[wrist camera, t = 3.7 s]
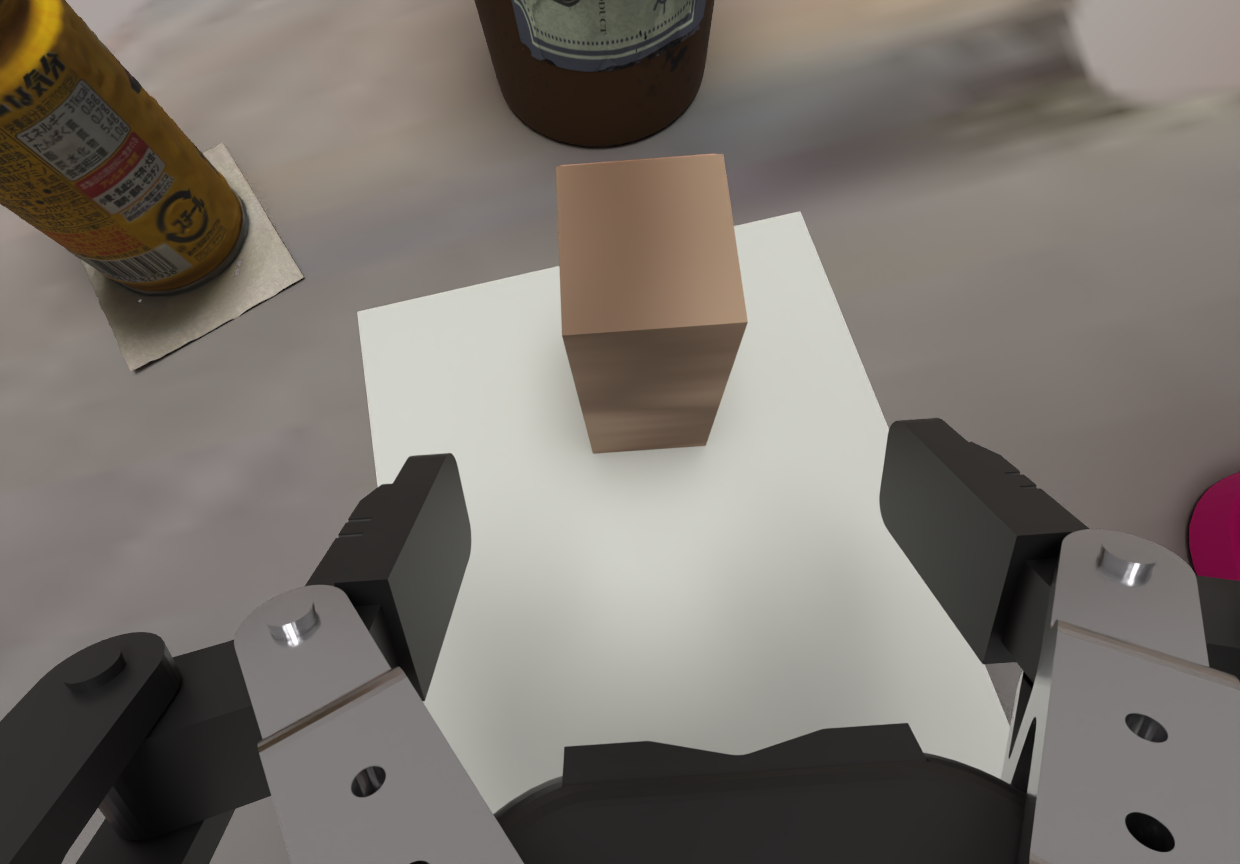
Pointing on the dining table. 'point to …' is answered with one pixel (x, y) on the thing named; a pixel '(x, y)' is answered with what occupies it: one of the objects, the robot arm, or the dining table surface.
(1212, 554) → the pepper mill
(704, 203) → the walnut block
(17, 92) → the condiment
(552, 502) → the rubber mat
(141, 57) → the dining table surface
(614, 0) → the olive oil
